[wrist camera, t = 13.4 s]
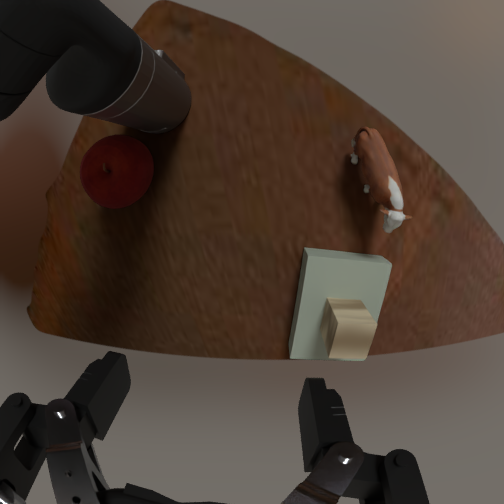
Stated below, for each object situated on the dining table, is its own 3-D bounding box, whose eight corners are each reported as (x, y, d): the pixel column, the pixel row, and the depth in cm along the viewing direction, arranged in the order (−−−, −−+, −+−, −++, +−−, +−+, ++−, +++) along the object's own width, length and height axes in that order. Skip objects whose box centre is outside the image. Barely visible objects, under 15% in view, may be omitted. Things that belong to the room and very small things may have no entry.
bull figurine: (366, 226, 39) (388, 240, 31) (340, 135, 35) (358, 126, 27) (392, 218, 38) (418, 229, 30) (368, 128, 35) (391, 119, 27)
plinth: (304, 247, 40) (308, 255, 36) (381, 255, 39) (392, 264, 36) (288, 343, 44) (290, 358, 40) (358, 346, 44) (364, 360, 40)
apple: (158, 209, 39) (127, 220, 30) (104, 196, 39) (65, 204, 29) (172, 144, 37) (144, 136, 27) (116, 135, 36) (77, 128, 27)
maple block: (326, 297, 37) (338, 322, 31) (360, 299, 37) (377, 324, 30) (319, 329, 39) (328, 358, 32) (352, 330, 39) (366, 358, 32)
